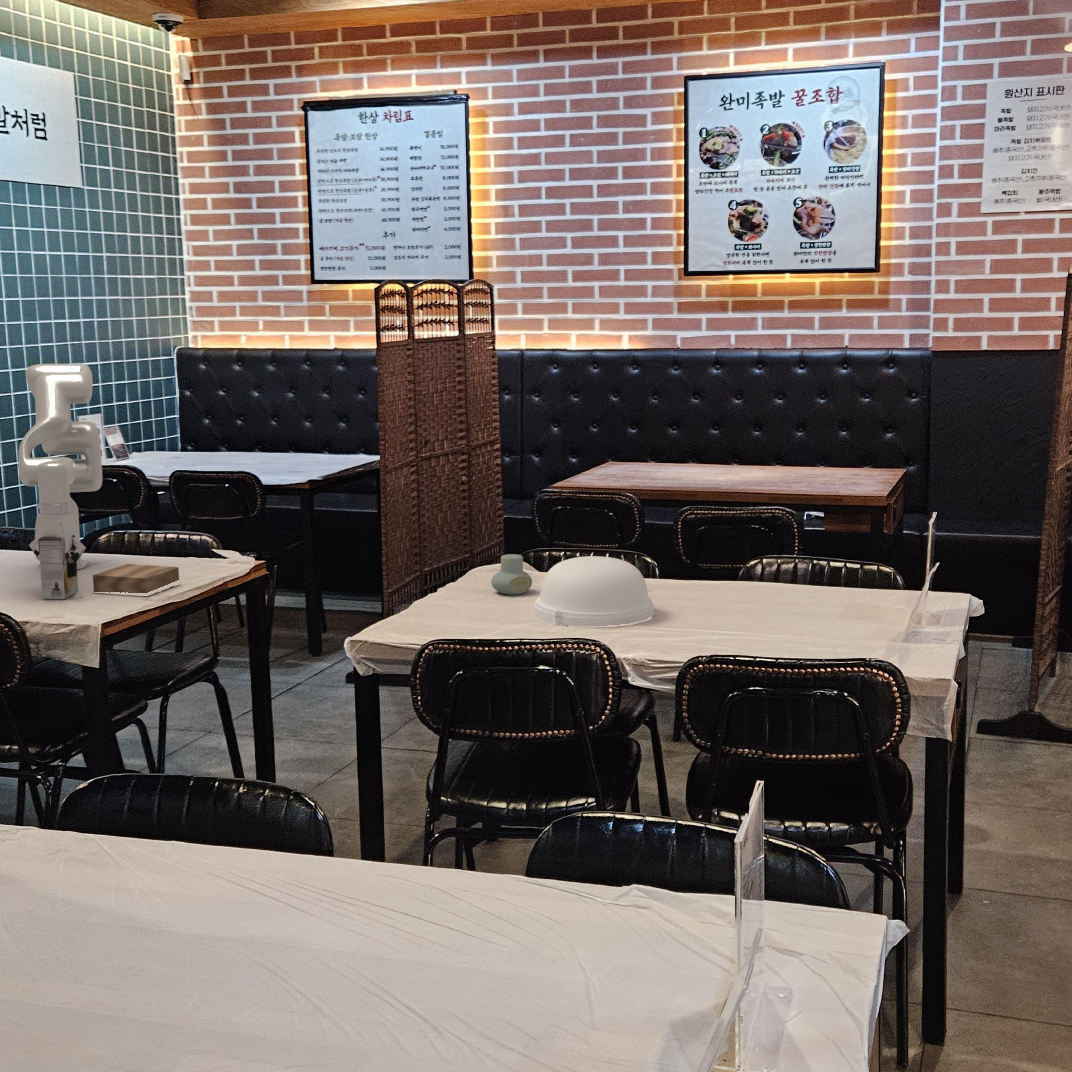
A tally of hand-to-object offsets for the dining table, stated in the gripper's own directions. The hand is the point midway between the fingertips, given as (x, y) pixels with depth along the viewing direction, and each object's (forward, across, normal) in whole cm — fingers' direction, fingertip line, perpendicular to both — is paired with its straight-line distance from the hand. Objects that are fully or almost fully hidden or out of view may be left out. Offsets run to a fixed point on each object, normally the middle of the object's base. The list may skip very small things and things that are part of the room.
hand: (59, 575), depth 346 cm
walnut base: (+6, +14, +14) cm, 21 cm away
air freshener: (+6, +112, +39) cm, 119 cm away
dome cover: (+5, +139, +21) cm, 141 cm away
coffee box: (+6, 0, 0) cm, 6 cm away
